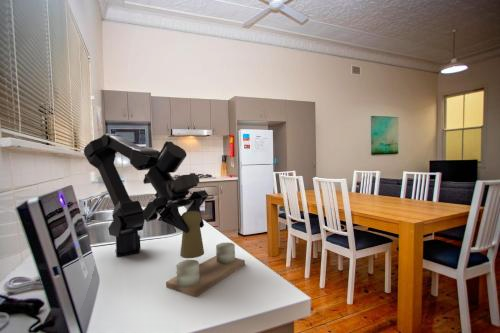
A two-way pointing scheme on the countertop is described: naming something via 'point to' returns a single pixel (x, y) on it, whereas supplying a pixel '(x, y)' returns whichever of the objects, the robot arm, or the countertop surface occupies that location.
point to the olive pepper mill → (192, 236)
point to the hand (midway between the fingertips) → (195, 229)
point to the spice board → (205, 271)
